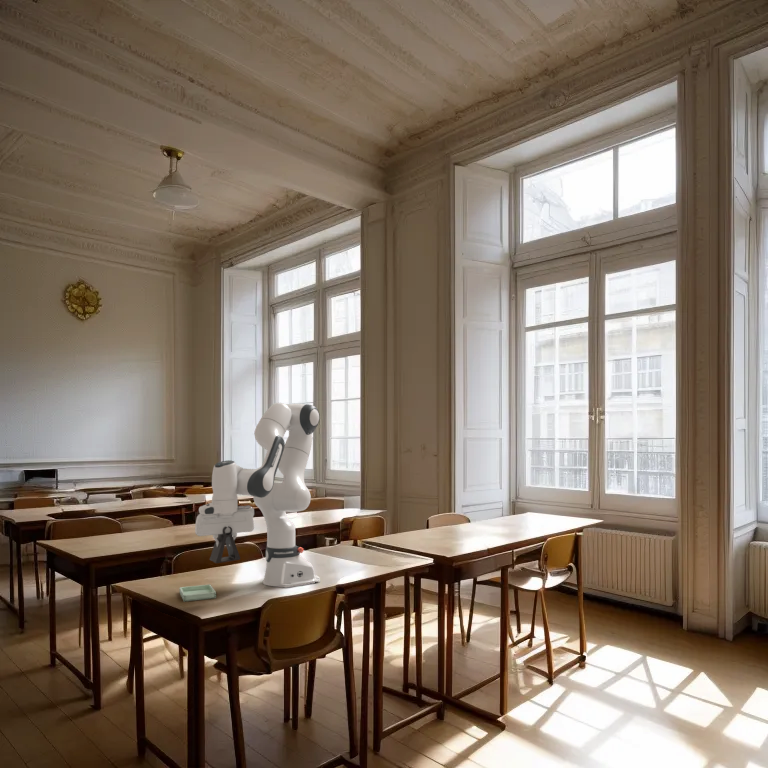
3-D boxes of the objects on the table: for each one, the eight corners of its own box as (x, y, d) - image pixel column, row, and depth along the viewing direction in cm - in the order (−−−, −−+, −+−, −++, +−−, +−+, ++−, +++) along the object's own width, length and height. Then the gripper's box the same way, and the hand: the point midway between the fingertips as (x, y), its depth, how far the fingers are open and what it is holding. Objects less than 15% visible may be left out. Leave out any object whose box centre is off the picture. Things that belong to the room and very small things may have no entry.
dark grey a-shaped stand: (233, 556, 232) (233, 523, 232) (240, 559, 227) (240, 525, 228) (209, 560, 227) (209, 526, 227) (215, 563, 222) (215, 528, 222)
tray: (210, 589, 243) (210, 584, 243) (216, 598, 231) (216, 592, 231) (179, 592, 239) (179, 587, 239) (183, 601, 227) (183, 595, 227)
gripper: (252, 503, 235) (252, 542, 234) (194, 508, 227) (194, 547, 226) (255, 506, 229) (256, 545, 228) (196, 510, 221) (196, 551, 220)
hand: (225, 546), depth 227 cm, fingers closed on dark grey a-shaped stand, 3 cm apart
